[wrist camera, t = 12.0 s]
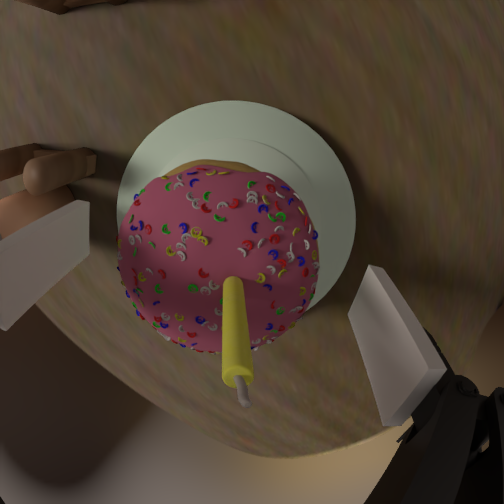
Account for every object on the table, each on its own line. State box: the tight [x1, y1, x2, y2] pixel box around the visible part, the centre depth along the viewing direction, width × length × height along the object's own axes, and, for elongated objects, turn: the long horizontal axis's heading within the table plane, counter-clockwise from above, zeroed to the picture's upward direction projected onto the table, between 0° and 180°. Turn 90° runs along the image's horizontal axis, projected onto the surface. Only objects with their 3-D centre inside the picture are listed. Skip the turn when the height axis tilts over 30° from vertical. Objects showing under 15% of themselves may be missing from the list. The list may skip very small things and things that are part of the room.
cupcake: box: [116, 159, 320, 408], centre depth 11 cm, size 9×8×12 cm
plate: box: [117, 101, 356, 311], centre depth 17 cm, size 14×14×1 cm
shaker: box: [0, 185, 75, 241], centre depth 14 cm, size 4×4×8 cm
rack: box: [0, 0, 127, 196], centre depth 12 cm, size 7×14×5 cm, turn 167°
